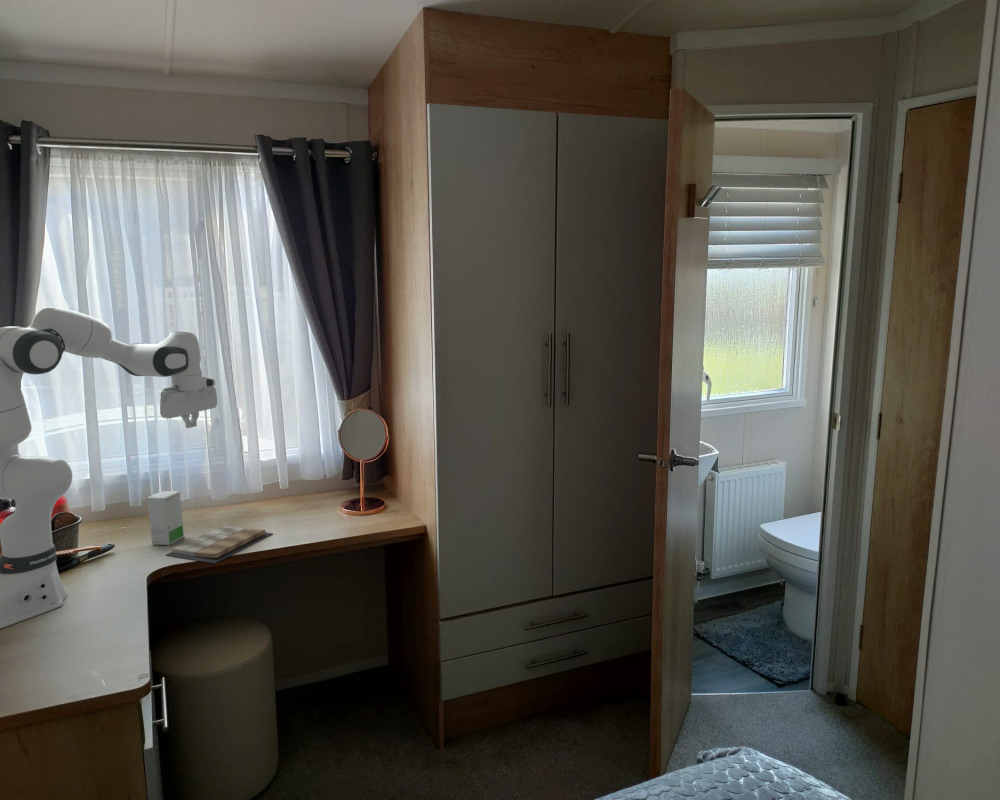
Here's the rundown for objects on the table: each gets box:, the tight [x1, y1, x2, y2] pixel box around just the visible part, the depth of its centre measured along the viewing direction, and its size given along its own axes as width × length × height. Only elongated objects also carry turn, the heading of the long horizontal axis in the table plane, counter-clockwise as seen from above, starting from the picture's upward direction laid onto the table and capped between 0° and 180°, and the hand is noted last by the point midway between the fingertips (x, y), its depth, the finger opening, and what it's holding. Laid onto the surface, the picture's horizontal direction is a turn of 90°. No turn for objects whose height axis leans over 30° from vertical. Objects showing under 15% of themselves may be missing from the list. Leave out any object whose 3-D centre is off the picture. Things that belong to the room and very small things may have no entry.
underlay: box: [165, 532, 274, 565], centre depth 227 cm, size 26×19×1 cm
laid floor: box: [171, 525, 245, 556], centre depth 229 cm, size 22×9×1 cm, turn 158°
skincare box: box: [146, 490, 185, 546], centre depth 230 cm, size 8×7×16 cm
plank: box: [195, 528, 267, 558], centre depth 225 cm, size 22×8×1 cm, turn 158°
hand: (191, 427), depth 225 cm, fingers closed
